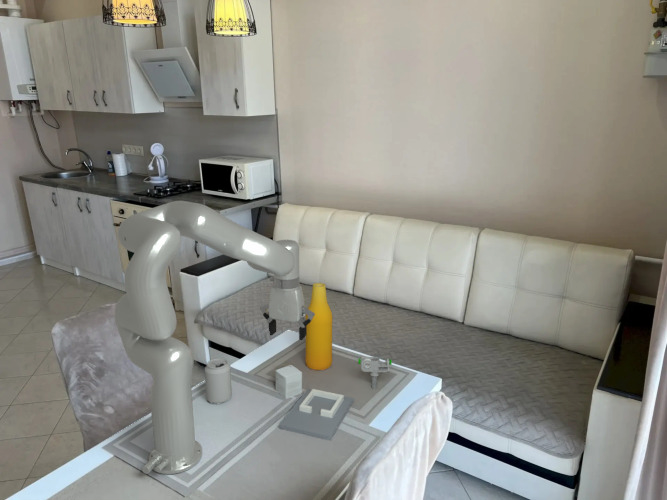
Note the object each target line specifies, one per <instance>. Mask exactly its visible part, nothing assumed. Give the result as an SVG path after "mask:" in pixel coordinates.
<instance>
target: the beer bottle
mask: <svg viewBox="0 0 667 500" xmlns="http://www.w3.org/2000/svg"><path fill="white" fill-rule="evenodd" d="M310 297H311V298H310V303H309V305H308V307H307V309H309V310H310V311H312V312H314V313H315V316H314V317H313V319H312V321H311V322H310V323H309V324H308V325H307V326H306V336H305V365H306V367H307V368H308V369H309V370H313V371H323V370H327V369H329V368H331V366H332V364H333V312H332V310H331V307H330V305H329V304H328V298H327V290H326V284H325V283H322V282H317V283H313V284H312V289H311V296H310ZM304 318H305V319H306V320H307V319H308V315H306V314H305V316H304Z"/></svg>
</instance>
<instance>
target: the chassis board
mask: <svg viewBox="0 0 667 500" xmlns="http://www.w3.org/2000/svg"><path fill="white" fill-rule="evenodd" d="M354 402H355V398H354V397H350V396H346V395H344V394H339V393H333V392H330V391H325V390H320V389H316V388H312V389H311V388H307V389H306V390H305V392H304V393H303V394H302V395H301V397H300V398H299V399H298V400H297V402H296V403H295V404H294V405H293V406H292V408H290V410H289V411H288V413H287V414H286V415H285V417H284V418H283V419H282V420H281V422H280V423H279V424H278V429H280V430H285V431H289V432H293V433H298V434H301V435H305V436H310V437H315V438H318V439H322V440H327V441H330V442H331V441H332V439H333V438H334V436H335V434H336V433H337V431H338V429H339V427H340V426H341V424H342V422H343V420H344V419H345V418H346V416H347V414H348V412H349V410H350V408H351V407H352V406H353V403H354Z"/></svg>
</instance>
